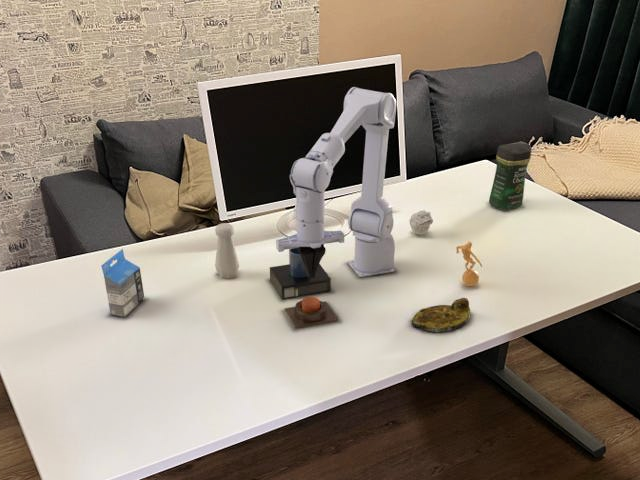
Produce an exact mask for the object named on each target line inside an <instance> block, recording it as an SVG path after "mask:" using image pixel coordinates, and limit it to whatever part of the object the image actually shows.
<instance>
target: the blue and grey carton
mask: <svg viewBox="0 0 640 480" xmlns="http://www.w3.org/2000/svg"><path fill="white" fill-rule="evenodd" d="M113 261H114V262H115V261H116V262H115V263H114V264H113ZM111 264H112V265H111ZM101 270H102V274H103V279H104V285H105V289H106V290H105V291H106V295H107V303H108V308H109V313H110V316H115V317H120V318H126V317H127V316H128V315H129V314H130V313H131V312H132V311H134V309H136V307H138V306H139V305H140V304H141V303H142V302H143V301H145V292H144V286H143V285H144V284H143V282H142V281H143V279H142V273H141V267H140V266H138V265H136V264H135V263H133V262H131V261H130V260H128V259H126V258H125V252H124V248H121V249H120V250H119V251H118V252H116V253H115V254H113V256H111V257H110V258H109V259H107V261H105V262H104V263H103V264H101Z"/></svg>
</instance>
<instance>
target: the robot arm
mask: <svg viewBox="0 0 640 480" xmlns="http://www.w3.org/2000/svg"><path fill="white" fill-rule="evenodd" d="M396 112H397V100H396V98H395V97H394V95H393V94H392V93H391V92H382V91H378V90H377V91H375V90H370V89H366V88H365V89H364V88H360V87H357V86H353V87H351V88H350V89H349V90H348V91H347V93H346V94H345V96H344V99H343V111H342V113H341V115H340V116H339V117H338V119H337V120H336V123H335V124H334V126H333V128H332V129H331V131H330V132H325V133H323V134H321V136H320V137H319V138H318V140H317V141H316V142H315V144H314V145H313V146H312V148H311V149H310V150H309V151H308V153H307V154H306V155H305V157H302V158H298V159H297V160H295V161H294V162H293V164H292V166H291V169H290V174H289V181H290V184H291V185H292V188H293V194H294V196H295V197H296V198H295V200H296V201H295V202H296V233H295V234H292V235H290V236H289V235H288V236H286V237H283V238H277V239H275V248H276V250H277V251H278V253H282V252H284V251H285V250H289V249H293V248H297V249H298V251H299V253H300V255H301V257H302V260H303V262H304V266H305V270H306V275H307V276H308V278H315V275H316V271H317V268H318V265H319V264H321V263H320V262H321V260H323V257H324V256H325V254H326V247H325V244H326V245H327V244H334V243H339V244H344V243H345V237H346V236H345V233H344V232H343V231H342V230H325V204H326V203H325V202H326V201H325V197H326V196H325V191H326V189H327V188H328V187H329V185H330V182H331V177H332V176H333V173H334V168H335V166H336V165H337V163H338V162H339V161H340V159H341V158H342V156H343V155H344V154H345V151H346V147H345V143H346V142H347V141H348V140H349V139H350V138H351V137H352V135H354V134H355V132H356V131H357V130H358V129H359V128H360V126H362V128H363V129H364V130H365V143H364V155H363V169H362V182H361V195H360V197H358V198H356V199H354V200H353V201H352V203H351V207H350V211H349V214H348V219H347V225H348V229H349V231H351V232H352V236H353V237H354V259H353V260H350V261H348V265H349V266H350V267H351V269H352V270H353V271H354V273H356V275H357V276H358V277H359V278H364V277H370V276H371V277H372V276H376V275H383V274H388V273H394V272H395V271H396V270H395V268H394V265H395V253H396V251H395V250H396V245H395V240H394V236H393V234H392V231H393V228H394V217H393V216H394V215H393V212H394V211H393V210H394V209H393V206H392V204H391V203H389V201H387V200H386V199H385V197H384V196H383V195H384V186H385V174H386V164H387V154H388V153H387V152H388V144H389V143H388V142H389V132H390V129H394V127H395V123H396V114H397V113H396Z"/></svg>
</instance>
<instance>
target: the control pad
mask: <svg viewBox="0 0 640 480" xmlns="http://www.w3.org/2000/svg"><path fill="white" fill-rule="evenodd" d="M302 300H303V299H301V300H300V301H298V302H296V304H295V306H291V307H285V308H284V309H283V310H284V313H285V315H286V316H287V318H288V320H289V321H290V324H291V325H292V326H293V328H294V330H296V329H302V328H307V327H313V326H319V325H325V324H331V323H335V322H338V321H339V319H338V316H336V315H337V314H335V312H334V310H332V308H331V306H330V305H329V303H328V302H327V301H322V300H320V309H319V310H318V311H315V312H306V311H304V310H302Z"/></svg>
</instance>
